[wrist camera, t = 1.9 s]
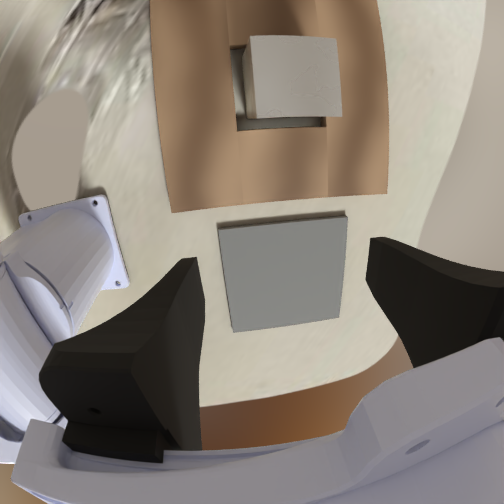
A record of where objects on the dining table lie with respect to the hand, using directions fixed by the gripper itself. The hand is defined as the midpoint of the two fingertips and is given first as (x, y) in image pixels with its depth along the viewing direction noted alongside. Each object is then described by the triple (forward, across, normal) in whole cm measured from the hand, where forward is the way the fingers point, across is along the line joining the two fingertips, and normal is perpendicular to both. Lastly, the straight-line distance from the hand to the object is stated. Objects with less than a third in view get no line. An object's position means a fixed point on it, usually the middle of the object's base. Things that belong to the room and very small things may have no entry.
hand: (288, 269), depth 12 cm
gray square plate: (+10, -2, +7) cm, 13 cm away
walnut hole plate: (+10, -2, -8) cm, 13 cm away
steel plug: (+10, -2, -8) cm, 13 cm away
